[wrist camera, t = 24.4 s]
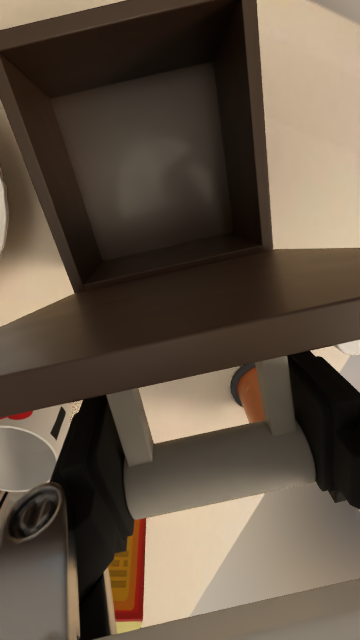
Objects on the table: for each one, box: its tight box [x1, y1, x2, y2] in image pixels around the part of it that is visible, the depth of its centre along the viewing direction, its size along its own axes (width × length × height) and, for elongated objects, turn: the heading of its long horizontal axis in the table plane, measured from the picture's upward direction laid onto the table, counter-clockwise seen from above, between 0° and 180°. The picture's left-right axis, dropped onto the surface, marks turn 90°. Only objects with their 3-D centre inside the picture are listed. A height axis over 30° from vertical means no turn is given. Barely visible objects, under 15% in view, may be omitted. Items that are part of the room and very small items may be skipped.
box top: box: [0, 248, 360, 520], centre depth 13 cm, size 15×15×6 cm
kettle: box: [237, 367, 315, 485], centre depth 30 cm, size 11×6×11 cm, turn 12°
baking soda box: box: [108, 518, 146, 634], centre depth 35 cm, size 10×6×16 cm
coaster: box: [231, 363, 256, 407], centre depth 36 cm, size 8×8×1 cm
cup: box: [0, 402, 72, 492], centre depth 29 cm, size 8×8×10 cm
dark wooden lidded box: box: [0, 0, 273, 294], centre depth 21 cm, size 15×15×9 cm
